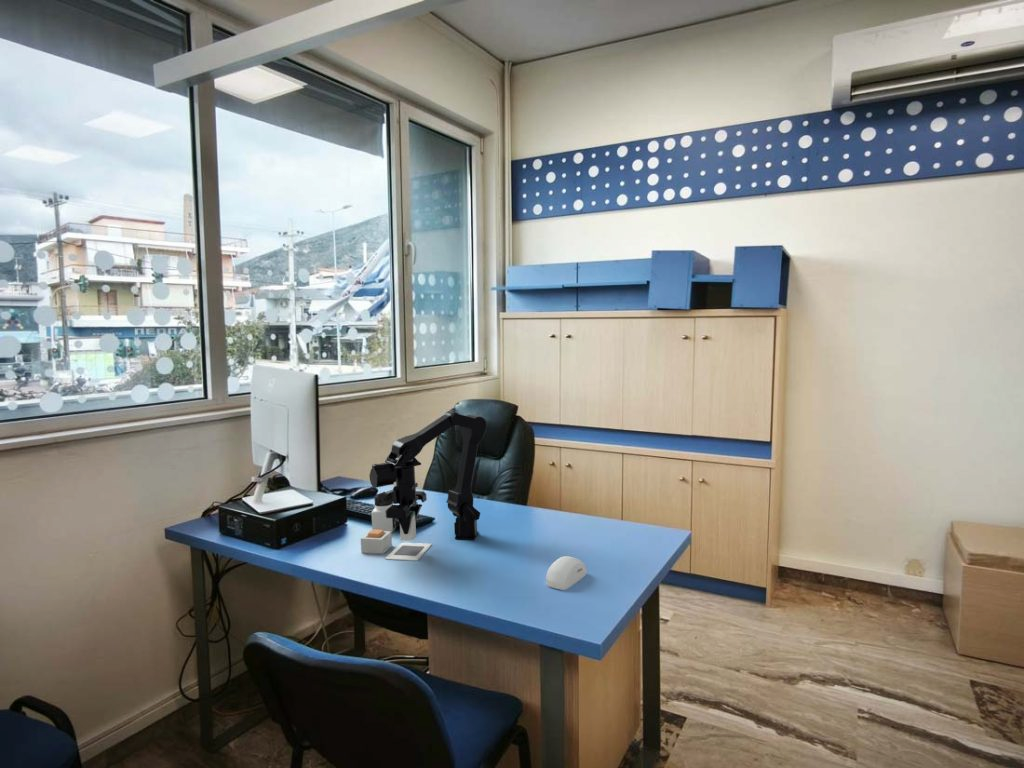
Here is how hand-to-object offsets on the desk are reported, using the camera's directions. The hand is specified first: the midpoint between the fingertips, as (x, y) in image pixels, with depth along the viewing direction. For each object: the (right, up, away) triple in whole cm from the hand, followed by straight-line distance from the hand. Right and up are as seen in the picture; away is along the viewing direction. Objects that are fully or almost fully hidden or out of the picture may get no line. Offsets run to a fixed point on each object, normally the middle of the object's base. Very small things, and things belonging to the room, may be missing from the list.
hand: (408, 531), depth 185 cm
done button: (-10, -3, +4) cm, 12 cm away
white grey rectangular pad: (0, -6, +1) cm, 6 cm away
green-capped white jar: (0, -2, 0) cm, 2 cm away
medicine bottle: (-12, -5, +22) cm, 26 cm away
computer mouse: (+46, -8, -23) cm, 52 cm away
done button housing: (-10, -6, +4) cm, 13 cm away
